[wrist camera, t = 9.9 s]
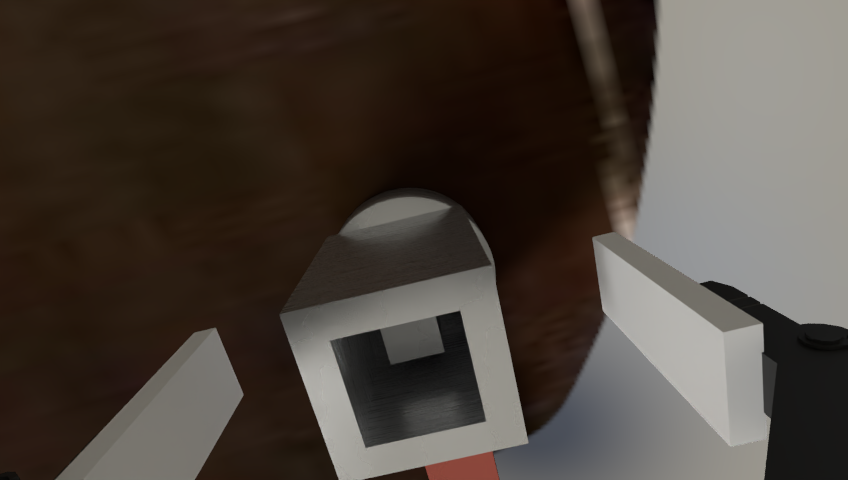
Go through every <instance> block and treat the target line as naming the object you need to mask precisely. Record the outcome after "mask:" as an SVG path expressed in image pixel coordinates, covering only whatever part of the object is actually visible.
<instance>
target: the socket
mask: <svg viewBox="0 0 848 480" xmlns="http://www.w3.org/2000/svg"><path fill="white" fill-rule="evenodd" d="M447 313H448V314H447ZM279 315H280V318H281V320H282V323H283V326H284V329H285V332H286V334H287V337H288V340H289V343H290V345H291V348H292V351H293V354H294V356H295V359H296V362H297V365H298V368H299V370H300V373H301V376H302V379H303V381H304V384H305V387H306V390H307V392H308V395H309V398H310V401H311V404H312V406H313V409H314V412H315V415H316V417H317V420H318V423H319V426H320V428H321V431H322V434H323V437H324V440H325V442H326V445H327V448H328V451H329V453H330V456H331V459H332V462H333V464H334V467H335V470H336V473H337V476H338V478H339V480H362V479H367V478H371V477H376V476H380V475H385V474H390V473H394V472H399V471H403V470H408V469H413V468H417V467H422V466H426V465H431V464H436V463H440V462H445V461H449V460H454V459H459V458H463V457H468V456H472V455H477V454H482V453H486V452H491V451H496V450H500V449H505V448H509V447H514V446H519V445H523V444H527V443H528V438H527V433H526V428H525V423H524V418H523V414H522V409H521V404H520V399H519V394H518V389H517V385H516V380H515V375H514V370H513V365H512V360H511V356H510V351H509V346H508V341H507V336H506V331H505V327H504V322H503V317H502V312H501V307H500V302H499V298H498V293H497V288H496V283H495V278H494V273H493V269H492V264H491V262H490V261H489V259H488V257H487V255H486V253H485V251H484V249H483V247H482V245H481V243H480V241H479V239H478V237H477V235H476V233H475V231H474V229H473V227H472V225H471V223H470V221H469V219H468V217H467V216H466V214H465V212H464V210H463V208H462V206H461V205H459V206H455V207H450V208H446V209H442V210H438V211H434V212H429V213H425V214H421V215H417V216H413V217H408V218H404V219H400V220H396V221H392V222H388V223H383V224H379V225H375V226H371V227H367V228H362V229H358V230H354V231H350V232H346V233H341V234H337V235H333V236H329V237H327V239H326V240H325V242H324V244H323V245H322V247H321V248H320V250H319V252H318V253H317V255H316V256H315V258H314V260H313V261H312V263H311V264H310V266H309V268H308V269H307V271H306V272H305V274H304V276H303V277H302V279H301V280H300V282H299V284H298V285H297V287H296V288H295V290H294V292H293V293H292V295H291V296H290V298H289V300H288V301H287V303H286V304H285V306H284V308H283V309H282V311H281V312H280V314H279ZM438 315H440V321H441V328H442V335H443V343H444V350H445V352H442V353H438V354H434V355H430V356H425V357H421V358H417V359H412V360H408V361H404V362H400V363H395V364H390V361H389V357H388V354H387V351H386V347H385V344H384V341H383V337H382V334H381V331H380V329H382V328H386V327H391V326H395V325H399V324H404V323H408V322H412V321H417V320H421V319H425V318H430V317H434V316H438Z"/></svg>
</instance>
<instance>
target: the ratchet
mask: <svg viewBox="0 0 848 480" xmlns="http://www.w3.org/2000/svg"><path fill="white" fill-rule="evenodd" d="M459 205H460V204H458V203H457V202H455V201H454V200H452V199H451V198H449V197H447V196H445V195H443V194H441V193H438V192H435V191H432V190H428V189H423V188H412V187H411V188H398V189H393V190H389V191H386V192H383V193H380V194H378V195H376V196H374V197H372V198H370V199H368V200H367V201H365V202H364V203H362V204H361V205H360V206H359V207H358V208H357V209H355V210H354V212H353V213H352V214H351V215H350V216H349V217H348V219H347V220H346V222H345V223H344V225H343V226H342V228H341V230H340V232H339V234H341V233H346V232H350V231H354V230H358V229H362V228H367V227H371V226H375V225H379V224H383V223H388V222H392V221H396V220H400V219H404V218H408V217H413V216H417V215H421V214H425V213H429V212H434V211H438V210H442V209H446V208H450V207H455V206H459ZM462 208H463V207H462ZM463 210H464V212H465V214H466V216H467V217H468V219H469V221H470V223H471V225H472V227H473V229H474V231H475V233H476V235H477V237H478V239H479V241H480V243H481V245H482V247H483V249H484V251H485V253H486V255H487V257H488V259H489V261H490V262H491V264H492V269H493V273H494V278H495V283H496V272H495V264H494V260H493V256H492V253H491V250H490V248H489V246H488V244H487V242H486V240H485V238H484V236H483V234H482V233H481V231H480V229H479V227H478V226H477V224H476V223H475V221H474V219H473V218H472V217H471V216H470V214H469V213H468V212H467V211H466V210H465V209H464V208H463ZM447 314H448V313H447ZM380 331H381V334H382V337H383V341H384V344H385V347H386V351H387V354H388V357H389V361H390V364H395V363H400V362H404V361H408V360H412V359H417V358H421V357H425V356H430V355H434V354H438V353H442V352H445V350H444V343H443V335H442V328H441V321H440V315H438V316H434V317H430V318H425V319H421V320H417V321H412V322H408V323H404V324H399V325H395V326H391V327H386V328H382V329H380ZM425 467H426V471H427V474H428V477H429V480H499V476H498V472H497V468H496V463H495V460H494V455H493V451H491V452H486V453H482V454H477V455H472V456H468V457H463V458H459V459H454V460H449V461H445V462H440V463H436V464H431V465H426V466H425Z"/></svg>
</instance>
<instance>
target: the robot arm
mask: <svg viewBox="0 0 848 480" xmlns="http://www.w3.org/2000/svg"><path fill="white" fill-rule="evenodd" d="M592 239H593V246H594V252H595V259H596V266H597V273H598V280H599V287H600V294H601V301H602V308H603V311H604V313H605V314H606V315H607V316H608V317H609V318H610V319H611V320H612V321H613V322H614V323H615V324H616V325H617V326H618V327H619V329H620V330H621V331H622V332H623V333H624V334H625V335H626V336H627V337H628V338H629V339H630V340H631V341H632V342H633V343H634V345H636V347H637V348H638V349H639V350H640V351H641V352H642V353H643V354H644V355H645V356H646V357H647V358H648V360H649V361H650V362H651V363H652V364H653V365H654V366H655V367H656V368H657V369H658V370H659V371H660V372H661V373H662V374H663V375H664V377H665V378H666V379H667V380H668V381H669V382H670V383H671V384H672V385H673V386H674V387H675V388H676V389H677V390H678V392H679V393H680V394H681V395H682V396H683V397H684V398H685V399H686V400H687V401H688V402H689V403H690V404H691V405H692V407H693V408H694V409H695V410H696V411H697V412H698V413H699V414H700V415H701V416H702V417H703V418H704V419H705V420H706V421H707V423H708V424H709V425H710V426H711V427H712V428H713V429H714V430H715V431H716V432H717V433H718V434H719V435H720V436H721V437H722V438H723V439H724V441H725V442H726V443H727V444H728V445H729V446H730V447H733V446H737V445H741V444H746V443H751V442H755V441H760V440H765V439H767V427H766V415H767V416H768V417H770V418H771V424H770V434H769V442H768V451H767V460H766V469H765V478H764V480H848V329H845V328H843V327H839V326H833V325H827V324H802V325H800V324H798V323H796V322H794V321H793V320H791V319H789V318H787V317H786V316H784V315H782V314H780V313H778V312H777V311H775V310H773V309H771V308H770V307H768V306H766V305H764V304H760V302H759V301H757V300H755V299H754V298H752V297H748V296H747V294H745V293H743V292H741V291H739V290H738V289H736V288H734V287H732V286H728V285H725V284H721V283H718V282H714V281H708V282H704V283H700V284H699V283H697V282H695V281H694V280H692V279H691V278H689V277H687V276H686V275H684V274H682V273H681V272H679V271H678V270H676V269H674V268H673V267H671V266H670V265H668V264H666V263H665V262H663V261H661V260H660V259H658V258H657V257H655V256H653V255H652V254H650V253H649V252H647V251H645V250H643V249H642V248H640V247H639V246H637V245H636V244H634V243H632V242H631V241H629V240H628V239H626V238H624V237H623V236H621V235H619V234H618V233H616V232H612V233H608V234H604V235H600V236H596V237H592ZM242 397H243V392H242V390H241V387H240V385H239V383H238V380H237V378H236V375H235V373H234V371H233V368H232V366H231V364H230V361H229V359H228V356H227V354H226V352H225V349H224V347H223V344H222V342H221V340H220V337H219V335H218V332H217V330H216V328H212V329H208V330H204V331H200V332H196V333H194V334H193V335H192V336H191V337H190V338H189V339H188V340H187V341H186V342H185V343H184V344H183V345H182V346H181V347H180V348H179V350H178V351H177V352H176V353H175V354H174V355H173V356H172V357H171V358H170V359H169V360H168V361H167V362H166V363H165V364H164V365H163V366H162V367H161V369H160V370H159V371H158V372H157V373H156V374H155V375H154V376H153V377H152V378H151V379H150V380H149V381H148V382H147V383H146V384H145V385H144V387H143V388H142V389H141V390H140V391H139V392H138V393H137V394H136V395H135V396H134V397H133V398H132V399H131V400H130V401H129V402H128V403H127V404H126V406H125V407H124V408H123V409H122V410H121V411H120V412H119V413H118V414H117V415H116V416H115V417H114V418H113V419H112V420H111V421H110V422H109V424H108V425H107V426H106V427H105V428H104V429H103V430H102V431H101V432H100V433H98V434H97V435H96V436H95V437H94V438H93V439H92V440H91V441H90V442H89V443H88V444H87V445H86V446H85V447H84V448H83V449H82V450H81V453H79V454H77V455H76V457H75V458H74V459H73V460H72V461H71V462H70V465H69V466H66V467H65V468H64V469H63V470H62V471H61V472H60V473H59V474H58V475H57V477H56V478H55V479H54V480H195V478H196V477H197V475H198V473H199V471H200V470H201V468H202V466H203V464H204V463H205V461H206V459H207V457H208V456H209V454H210V452H211V451H212V449H213V447H214V445H215V444H216V442H217V440H218V438H219V437H220V435H221V433H222V431H223V430H224V428H225V426H226V424H227V423H228V421H229V419H230V417H231V416H232V414H233V412H234V410H235V409H236V407H237V405H238V404H239V402H240V400H241V398H242ZM0 480H20V478H19V477H18V475H17V474H16V472H5V473H2V474H0Z"/></svg>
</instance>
